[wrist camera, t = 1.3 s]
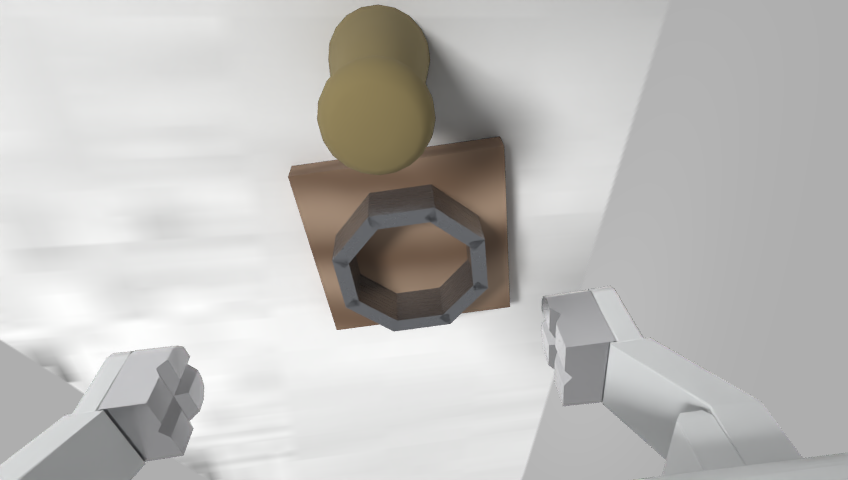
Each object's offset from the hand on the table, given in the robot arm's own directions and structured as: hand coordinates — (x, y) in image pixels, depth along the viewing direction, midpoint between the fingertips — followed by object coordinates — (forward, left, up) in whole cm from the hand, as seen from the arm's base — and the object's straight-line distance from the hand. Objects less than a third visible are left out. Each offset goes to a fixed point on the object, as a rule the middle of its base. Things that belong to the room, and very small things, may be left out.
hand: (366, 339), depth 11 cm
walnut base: (+13, 0, -23) cm, 26 cm away
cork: (0, 0, -23) cm, 23 cm away
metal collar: (+13, 0, -21) cm, 25 cm away
